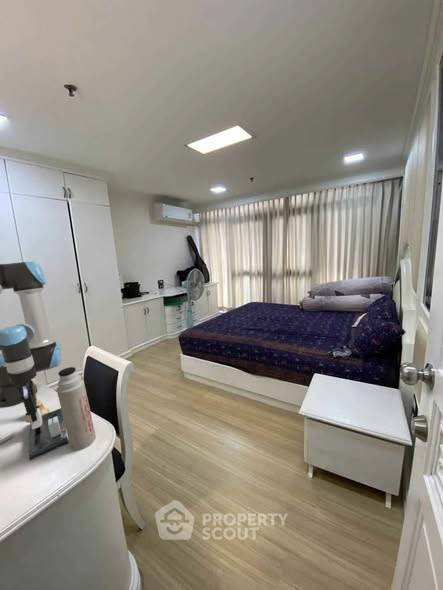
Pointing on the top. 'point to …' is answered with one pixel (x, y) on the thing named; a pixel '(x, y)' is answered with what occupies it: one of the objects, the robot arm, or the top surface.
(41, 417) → the fader
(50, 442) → the console
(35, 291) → the robot arm
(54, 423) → the fader
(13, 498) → the top surface
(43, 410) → the hand bell
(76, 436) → the thermos bottle
